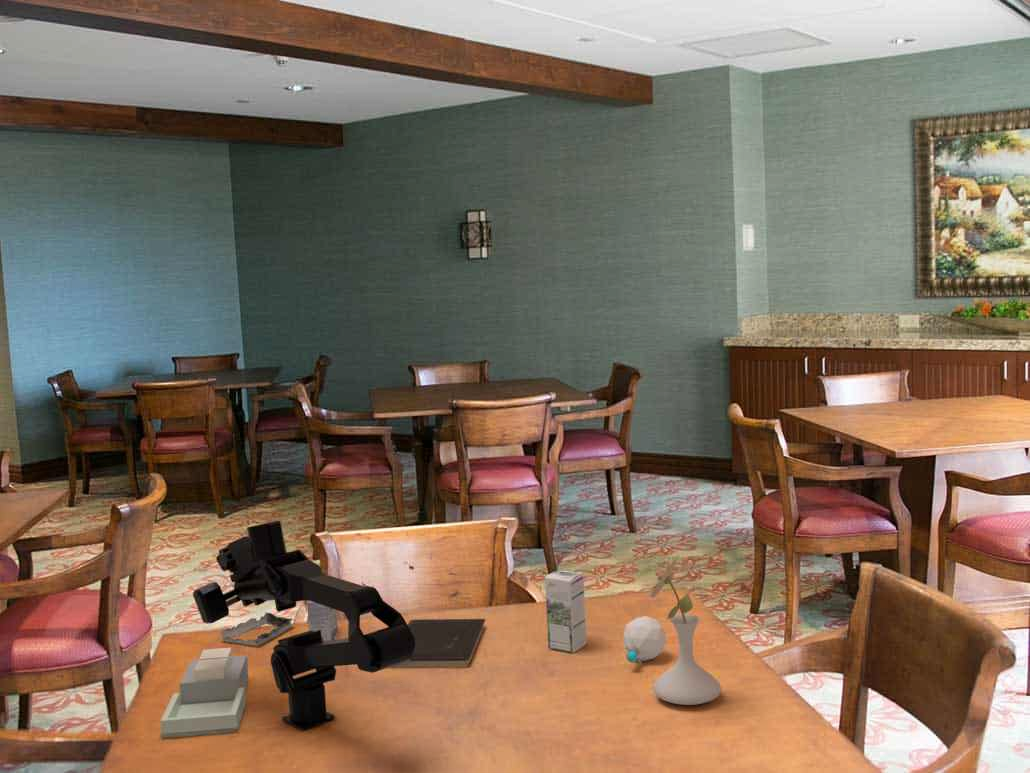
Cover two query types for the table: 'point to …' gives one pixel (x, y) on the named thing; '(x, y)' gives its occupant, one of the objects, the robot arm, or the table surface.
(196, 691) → the grey rounded box
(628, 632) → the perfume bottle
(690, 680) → the flower in vase
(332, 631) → the medicine box
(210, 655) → the rear tile
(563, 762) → the table surface
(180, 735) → the box
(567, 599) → the syrup box
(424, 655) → the hardcover book
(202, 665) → the front tile
